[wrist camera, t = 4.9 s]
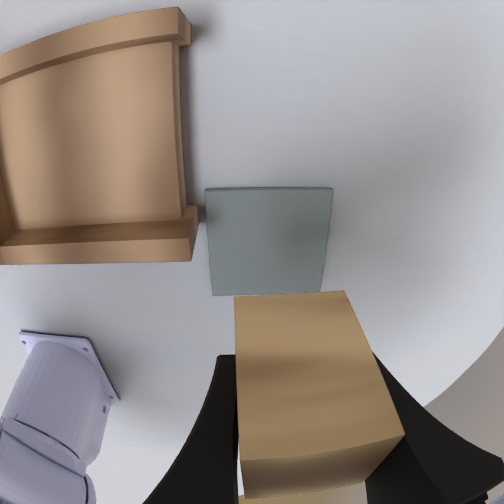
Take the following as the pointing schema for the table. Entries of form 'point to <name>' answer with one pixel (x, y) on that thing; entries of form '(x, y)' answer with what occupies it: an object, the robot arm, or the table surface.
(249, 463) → the oak block
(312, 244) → the slate pad
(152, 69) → the tray
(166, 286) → the table surface
